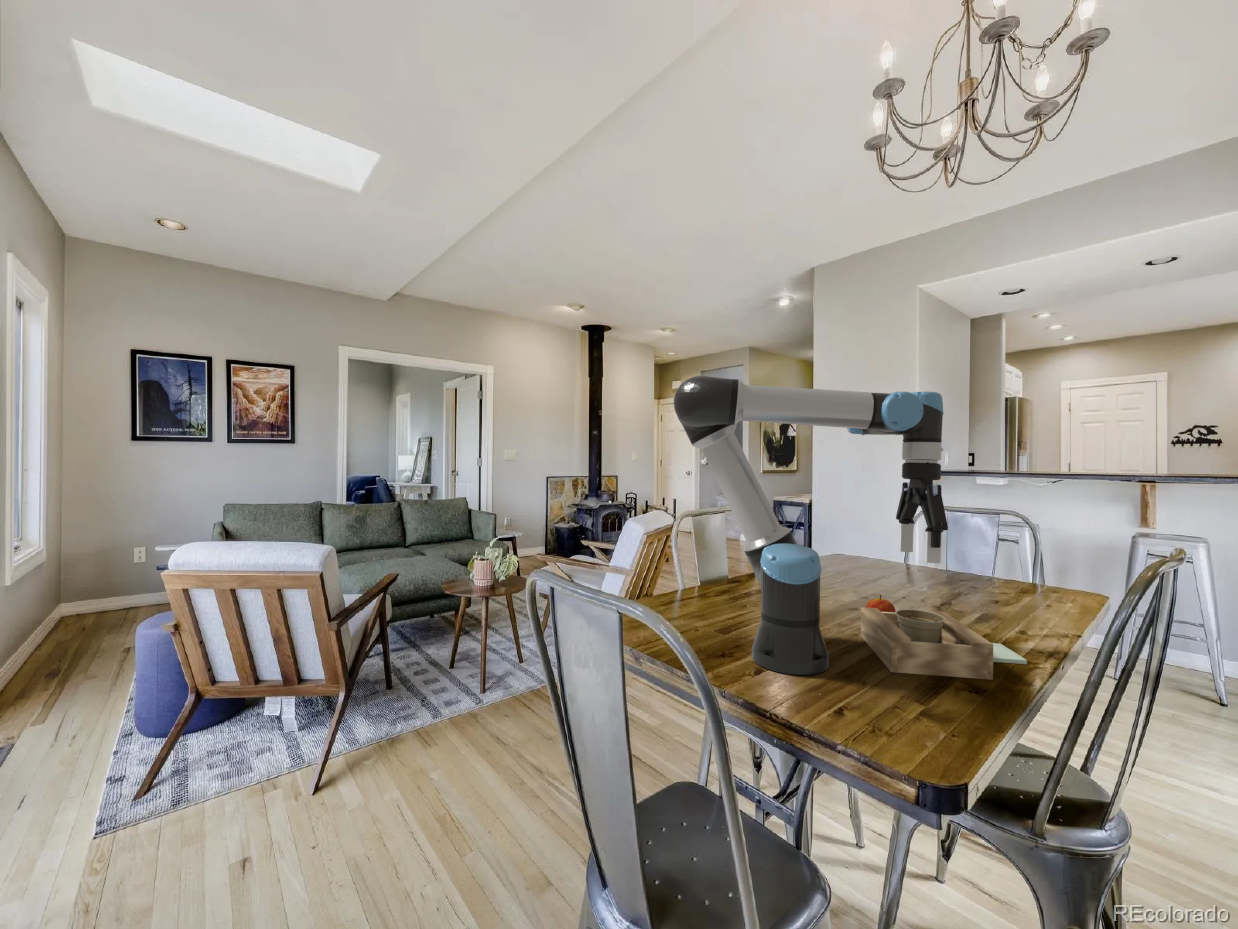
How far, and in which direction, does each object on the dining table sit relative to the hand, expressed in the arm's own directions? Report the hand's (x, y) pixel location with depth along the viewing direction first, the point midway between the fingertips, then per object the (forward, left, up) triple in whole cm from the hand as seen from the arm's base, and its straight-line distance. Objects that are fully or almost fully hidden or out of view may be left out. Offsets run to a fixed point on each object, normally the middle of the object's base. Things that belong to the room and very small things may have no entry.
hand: (918, 557), depth 116 cm
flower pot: (-1, -5, -21) cm, 21 cm away
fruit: (-3, +15, -21) cm, 26 cm away
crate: (-1, -5, -20) cm, 21 cm away
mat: (+14, -1, -20) cm, 24 cm away
